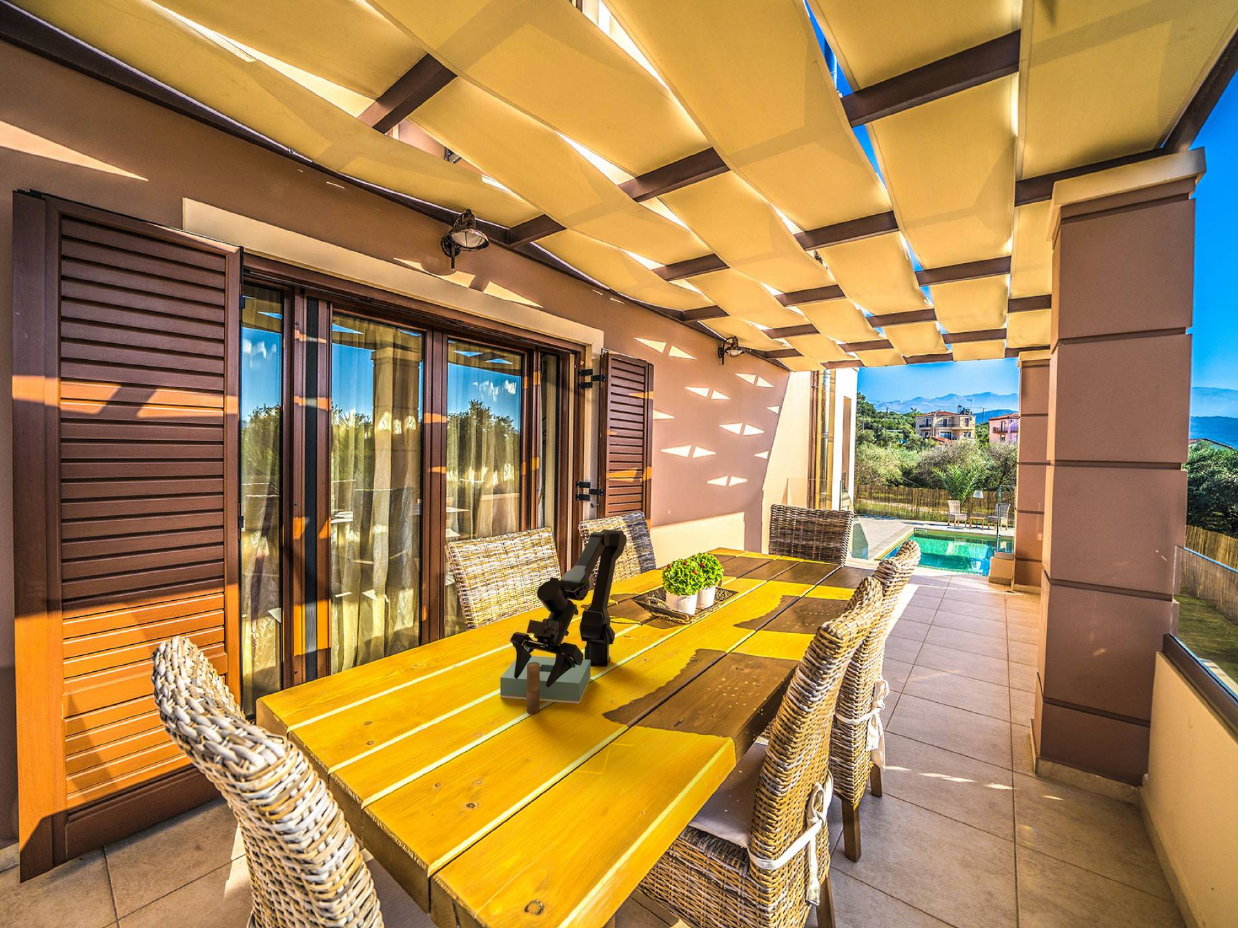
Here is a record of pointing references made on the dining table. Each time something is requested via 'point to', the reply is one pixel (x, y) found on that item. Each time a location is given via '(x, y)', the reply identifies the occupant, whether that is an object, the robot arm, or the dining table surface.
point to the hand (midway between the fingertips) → (530, 682)
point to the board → (561, 690)
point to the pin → (533, 687)
